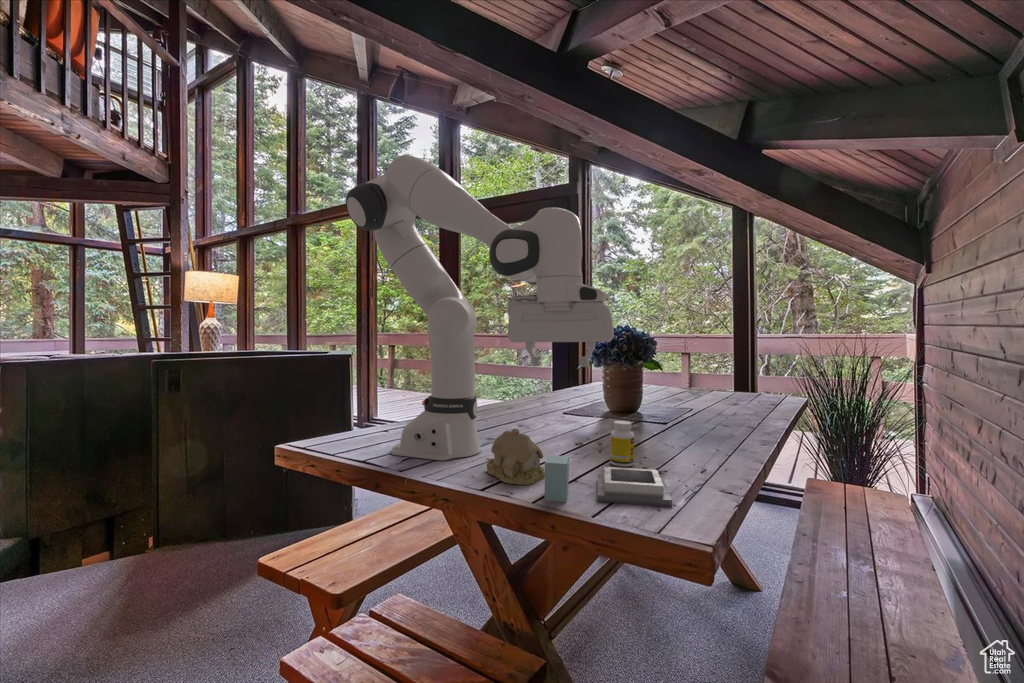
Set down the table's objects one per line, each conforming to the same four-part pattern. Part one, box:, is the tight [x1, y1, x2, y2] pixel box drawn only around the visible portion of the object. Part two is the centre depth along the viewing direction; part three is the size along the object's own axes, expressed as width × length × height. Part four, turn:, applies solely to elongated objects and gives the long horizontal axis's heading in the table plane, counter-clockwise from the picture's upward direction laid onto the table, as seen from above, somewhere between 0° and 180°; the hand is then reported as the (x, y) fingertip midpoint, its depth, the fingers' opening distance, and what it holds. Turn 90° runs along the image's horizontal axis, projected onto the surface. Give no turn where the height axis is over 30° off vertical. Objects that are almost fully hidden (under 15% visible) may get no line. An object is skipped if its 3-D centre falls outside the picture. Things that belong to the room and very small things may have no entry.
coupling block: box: [544, 454, 570, 503], centre depth 90 cm, size 4×6×7 cm
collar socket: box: [596, 466, 673, 508], centre depth 93 cm, size 13×13×3 cm
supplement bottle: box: [609, 420, 635, 468], centre depth 113 cm, size 5×5×10 cm
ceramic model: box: [486, 428, 545, 486], centre depth 104 cm, size 14×11×10 cm
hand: (560, 366), depth 92 cm, fingers open, 8 cm apart
